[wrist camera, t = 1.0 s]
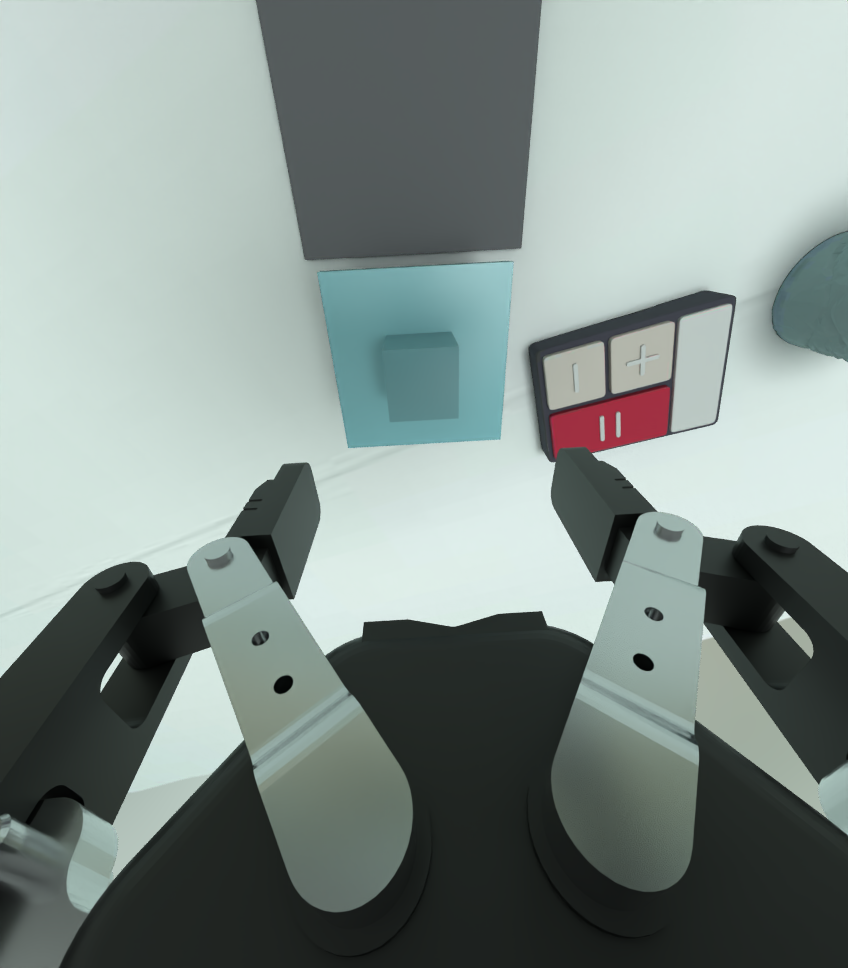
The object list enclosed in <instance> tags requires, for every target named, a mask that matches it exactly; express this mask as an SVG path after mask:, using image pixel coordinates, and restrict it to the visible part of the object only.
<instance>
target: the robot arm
mask: <svg viewBox="0 0 848 968" xmlns="http://www.w3.org/2000/svg"><path fill="white" fill-rule="evenodd" d="M551 500H552V504H553V507H554V509H555V511H556V513H557V514H558V516H559V518H560V520H561V522H562V523H563V525H564V527H565V529H566V530H567V532H568V534H569V536H570V538H571V539H572V541H573V543H574V545H575V547H576V548H577V550H578V552H579V554H580V555H581V557H582V559H583V561H584V563H585V564H586V566H587V568H588V570H589V571H590V573H591V575H592V577H593V579H594V580H595V582H602V581H612V582H613V583H614V588H613V591H612V593H611V596H610V599H609V602H608V605H607V608H606V611H605V614H604V616H603V619H602V622H601V625H600V628H599V631H598V634H597V637H596V639H595V642H594V644H593V643H591V642H589V641H588V640H586V639H584V638H582V637H580V636H578V635H576V634H574V633H571V632H568V631H566V630H563V629H559V628H556V627H552V626H547V624H546V621H545V619H544V616H543V613H542V611H539V612H523V613H506V614H497V615H493V616H490V617H487V618H483V619H480V620H477V621H473V622H470V623H467V624H464V625H460V626H456V627H450V626H444V625H438V624H432V623H426V622H420V621H414V620H392V621H375V622H364V627H363V635H362V637H360V638H356V639H354V640H352V641H349V642H347V643H345V644H343V645H341V646H339V647H337V648H336V649H334V650H333V651H331V652H330V653H328V654H327V655H326V656H325V655H324V654H323V652H322V650H321V649H320V647H319V646H318V644H317V643H316V641H315V640H314V638H313V636H312V635H311V633H310V632H309V630H308V629H307V627H306V626H305V624H304V622H303V621H302V619H301V618H300V616H299V615H298V613H297V612H296V610H295V608H294V607H293V605H292V604H291V602H290V601H289V599H294V598H295V595H296V592H297V589H298V586H299V582H300V579H301V576H302V573H303V570H304V567H305V564H306V561H307V558H308V555H309V552H310V549H311V546H312V542H313V539H314V536H315V533H316V530H317V527H318V524H319V521H320V503H319V498H318V494H317V490H316V486H315V482H314V478H313V474H312V470H311V467H310V465H309V463H291V464H283V465H282V467H281V468H280V470H279V472H278V473H277V475H276V477H275V479H274V480H267V481H266V482H265V483H263V484H262V485H261V486H259V487H258V488H257V489H255V491H254V493H253V494H252V496H251V497H250V499H249V502H247V504H246V505H245V507H244V508H243V509H244V511H242V512H241V513H240V515H239V516H238V518H237V519H236V521H235V523H234V524H233V526H232V527H231V529H230V531H229V532H228V534H227V535H226V537H225V538H222V539H218V540H215V541H213V542H211V543H208V544H206V545H205V546H203V547H201V548H200V549H199V550H197V551H196V552H195V553H194V554H193V555H192V556H191V558H190V559H189V561H188V563H187V566H186V567H182V568H179V569H175V570H171V571H168V572H164V573H160V574H157V575H153V574H152V572H151V571H150V569H149V568H148V566H147V565H146V564H144V563H141V562H128V563H123V564H119V565H116V566H113V567H111V568H108V569H106V570H104V571H102V572H100V573H99V574H97V575H95V576H94V577H92V578H91V579H90V580H88V581H87V582H86V583H85V584H84V585H83V586H82V587H81V588H80V589H79V590H78V591H77V592H76V593H75V595H74V596H73V597H72V598H71V599H70V600H69V601H68V602H67V604H66V605H65V606H64V607H63V608H62V609H61V610H60V611H59V613H58V614H57V615H56V616H55V617H54V618H53V619H52V620H51V622H50V623H49V624H48V625H47V626H46V627H45V628H44V629H43V631H42V632H41V633H40V634H39V635H38V636H37V637H36V638H35V640H34V641H33V642H32V643H31V644H30V645H29V646H28V647H27V649H26V650H25V651H24V652H23V653H22V654H21V655H20V656H19V658H18V659H17V660H16V661H15V662H14V663H13V664H12V665H11V666H10V668H9V669H8V670H7V671H6V672H5V673H4V674H3V675H2V677H1V678H0V968H848V572H846V571H845V570H844V569H842V568H841V567H840V566H839V565H837V564H836V563H835V562H834V561H832V560H831V559H830V558H829V557H827V556H826V555H825V554H823V553H822V552H821V551H820V550H818V549H817V548H816V547H815V546H813V545H812V544H811V543H809V542H808V541H806V540H805V539H803V538H801V537H799V536H797V535H795V534H793V533H790V532H788V531H785V530H782V529H778V528H775V527H769V526H758V525H757V526H749V527H747V528H745V529H744V530H743V531H742V533H741V534H740V536H739V538H738V540H737V541H732V540H725V539H718V538H711V537H704V536H703V535H702V533H701V531H700V530H699V529H698V528H697V527H696V526H695V525H694V524H693V523H691V522H689V521H688V520H686V519H684V518H682V517H679V516H676V515H673V514H669V513H664V512H657V511H656V510H655V509H654V507H653V506H652V505H651V504H650V503H649V502H648V501H647V500H646V499H645V498H644V497H643V496H642V495H641V494H640V493H639V492H638V491H637V490H636V488H633V485H632V484H631V483H630V482H629V481H628V480H626V478H625V477H624V476H623V475H622V474H621V473H620V472H619V471H618V469H616V468H615V467H613V466H611V465H609V464H607V463H606V462H604V461H598V460H597V459H596V458H595V457H594V456H593V454H592V453H591V452H590V451H589V450H588V449H587V448H586V447H571V448H560V449H559V451H558V453H557V458H556V464H555V470H554V475H553V481H552V487H551ZM784 611H786V612H787V613H788V614H789V615H790V616H791V617H792V618H793V619H794V620H795V621H796V622H797V623H798V624H799V626H800V627H801V628H802V629H803V630H804V631H805V632H806V633H807V634H808V636H809V637H810V639H811V641H812V644H813V650H814V652H813V656H812V658H811V659H810V657H809V656H808V655H807V654H806V653H805V652H804V651H803V650H802V648H801V647H800V646H799V645H798V644H797V643H796V642H795V641H794V640H793V639H792V638H791V637H790V635H789V634H788V633H787V632H786V631H785V630H784V629H783V628H782V627H781V625H779V623H778V622H777V621H778V619H779V618H780V617H781V615H782V614H783V613H784ZM703 623H704V625H705V626H706V627H707V629H708V630H709V632H710V633H711V634H712V636H713V637H714V639H715V640H716V641H717V643H718V644H719V646H720V647H721V648H722V650H723V651H724V653H725V654H726V655H727V657H728V658H729V660H730V661H731V662H732V664H733V665H734V667H735V668H736V669H737V671H738V672H739V674H740V675H741V676H742V678H743V679H744V681H745V682H746V683H747V685H748V686H749V687H750V689H751V690H752V692H753V693H754V695H755V696H756V697H757V699H758V700H759V701H760V703H761V704H762V706H763V707H764V709H765V710H766V711H767V713H768V714H769V715H770V717H771V718H772V720H773V721H774V722H775V724H776V725H777V726H778V728H779V730H780V731H781V732H782V734H783V735H784V737H785V738H786V739H787V741H788V742H789V744H790V745H791V746H792V748H793V749H794V751H795V752H796V753H797V755H798V756H799V758H800V759H801V760H802V762H803V763H804V764H805V766H806V767H807V769H808V770H809V772H810V773H811V774H812V776H813V777H814V779H815V780H816V781H817V783H818V784H819V789H818V794H819V799H820V803H821V806H822V808H823V811H824V813H825V815H826V816H827V818H828V819H827V818H826V817H824V816H823V815H822V814H820V813H819V812H818V811H816V810H815V809H813V808H812V807H811V806H810V805H808V804H807V803H806V802H804V801H803V800H802V799H800V798H799V797H798V796H796V795H795V794H794V793H792V792H791V791H790V790H788V789H787V788H786V787H784V786H783V785H782V784H780V783H779V782H778V781H776V780H775V779H774V778H772V777H771V776H770V775H768V774H767V773H765V772H764V771H763V770H762V769H760V768H759V767H758V766H756V765H755V764H754V763H752V762H751V761H750V760H748V759H747V758H746V757H744V756H743V755H742V754H740V753H739V752H737V751H736V750H735V749H734V748H732V747H731V746H730V745H728V744H727V743H726V742H724V741H723V740H722V739H720V738H719V737H718V736H716V735H715V734H713V733H712V732H711V731H710V730H708V729H707V728H706V727H704V726H703V725H702V724H700V723H699V722H698V721H696V720H695V713H696V701H697V691H698V679H699V666H700V656H701V645H702V634H703ZM209 647H211V648H212V651H213V653H214V656H215V659H216V662H217V665H218V667H219V670H220V673H221V676H222V679H223V681H224V684H225V687H226V690H227V692H228V695H229V698H230V701H231V704H232V706H233V709H234V712H235V715H236V718H237V720H238V723H239V726H240V729H241V732H242V734H243V737H244V741H243V742H242V743H241V744H240V745H239V746H238V747H237V748H236V749H235V750H234V751H233V752H232V753H231V754H230V755H229V757H228V758H227V759H226V760H225V761H224V762H223V763H222V764H221V765H220V766H219V767H218V768H217V769H216V770H215V771H214V772H213V774H212V775H211V776H210V777H209V778H208V779H207V780H206V781H205V782H204V783H203V784H202V785H201V786H200V787H199V788H198V790H197V791H196V792H195V793H194V794H193V795H192V796H191V797H190V798H189V799H188V800H187V801H186V802H185V804H183V806H182V807H181V808H180V809H179V810H178V811H177V812H176V813H175V814H174V815H173V816H172V817H171V818H170V819H169V820H168V821H167V823H166V824H165V825H164V826H163V827H162V828H161V829H160V830H159V831H158V832H157V833H156V834H155V835H154V836H153V838H151V840H150V841H149V842H148V843H147V844H146V845H145V846H144V847H143V848H142V849H141V850H140V851H139V852H138V853H137V855H136V856H135V857H134V858H133V859H132V860H131V861H130V862H129V863H128V864H127V865H126V866H125V867H124V869H123V870H122V871H121V872H120V873H119V874H118V875H117V877H116V878H115V879H114V880H113V872H112V869H113V866H114V863H115V860H116V856H117V850H118V838H117V833H116V831H115V828H114V827H113V826H112V825H113V822H114V820H115V818H116V816H117V814H118V811H119V809H120V807H121V805H122V803H123V801H124V799H125V797H126V794H127V793H128V790H129V788H130V786H131V784H132V782H133V780H134V778H135V775H136V773H137V771H138V769H139V767H140V765H141V763H142V760H143V758H144V756H145V754H146V752H147V750H148V748H149V746H150V743H151V741H152V739H153V737H154V735H155V733H156V731H157V728H158V726H159V724H160V722H161V720H162V718H163V716H164V713H165V711H166V709H167V707H168V705H169V703H170V701H171V699H172V696H173V694H174V692H175V690H176V688H177V686H178V684H179V681H180V679H181V677H182V675H183V673H184V671H185V669H186V666H187V664H188V662H189V660H190V658H191V656H192V654H193V653H195V652H198V651H201V650H203V649H206V648H209ZM118 653H120V655H121V656H122V657H123V658H122V660H121V662H120V663H119V665H118V666H117V668H116V669H115V671H114V673H113V674H112V676H111V677H110V679H109V681H108V682H107V684H106V685H105V687H104V688H103V690H102V692H101V693H100V687H101V682H102V679H103V677H104V674H105V673H106V671H107V670H108V668H109V666H110V665H111V663H112V662H113V660H114V659H115V657H116V656H117V654H118Z"/></svg>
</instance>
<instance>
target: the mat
mask: <svg viewBox="0 0 848 968" xmlns="http://www.w3.org/2000/svg"><path fill="white" fill-rule="evenodd" d="M256 3H257V8H258V14H259V19H260V24H261V29H262V35H263V40H264V45H265V51H266V56H267V61H268V66H269V72H270V77H271V82H272V88H273V93H274V98H275V103H276V109H277V114H278V119H279V125H280V130H281V135H282V140H283V146H284V151H285V156H286V162H287V167H288V172H289V177H290V183H291V188H292V193H293V199H294V204H295V209H296V214H297V220H298V225H299V230H300V236H301V241H302V246H303V251H304V257H305V260H314V259H332V258H351V257H369V256H387V255H406V254H424V253H443V252H461V251H479V250H498V249H516V248H521V245H522V232H523V220H524V208H525V196H526V184H527V172H528V160H529V148H530V136H531V124H532V112H533V99H534V87H535V75H536V63H537V51H538V39H539V27H540V15H541V3H542V0H256Z"/></svg>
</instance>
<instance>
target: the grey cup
mask: <svg viewBox="0 0 848 968" xmlns="http://www.w3.org/2000/svg"><path fill="white" fill-rule="evenodd" d="M772 322H773V324H774V326H773V328H774V330H775V331H777V335H779V336H780V337H781V338H782V339H783V340H785V341H786V342H788V343H790V344H793V345H796V346H799V347H802V348H809V349H810V350H812V351H816V352H818V353H821V354H824V355H826V356H834V357H835V358H837V359H841V358H843V359H844V360H845V361H847V362H848V231H847V232H844V233H841V234H838V235H836V236H833V237H832V238H830V239H828V240H826V241H824V242H822V243H821V244H819V245H818V246H816V247H815V248H814V249H812V250H811V251H810V252H809V253H808V254H807V255H805V256H804V257H803V258H802V259H801V260H800V261H799V262H798V263H797V264H796V266H795V267H794V268H793V269H792V270H791V272H790V273H789V275H788V276H787V277H786V279H785V280H784V282H783V284H782V286H781V287H780V289H779V292H778V294H777V296H776V299H775V302H774V305H773V309H772Z"/></svg>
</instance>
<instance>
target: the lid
mask: <svg viewBox="0 0 848 968" xmlns="http://www.w3.org/2000/svg"><path fill="white" fill-rule="evenodd" d="M513 263H514V262H513V261H499V262H480V263H462V264H444V265H425V266H407V267H389V268H370V269H352V270H334V271H320V272H317V274H318V280H319V285H320V291H321V297H322V302H323V308H324V314H325V319H326V325H327V331H328V336H329V342H330V348H331V353H332V359H333V365H334V370H335V376H336V382H337V387H338V393H339V399H340V404H341V410H342V416H343V421H344V427H345V433H346V438H347V444H348V448H357V447H375V446H392V445H410V444H427V443H445V442H462V441H479V440H497V439H500V437H501V424H502V411H503V397H504V384H505V370H506V357H507V343H508V330H509V317H510V303H511V290H512V276H513Z"/></svg>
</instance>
